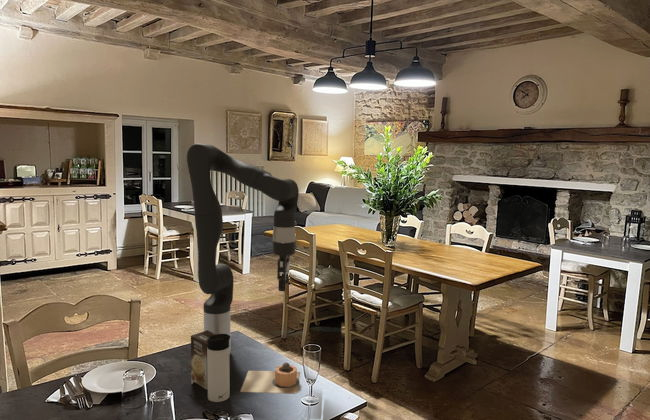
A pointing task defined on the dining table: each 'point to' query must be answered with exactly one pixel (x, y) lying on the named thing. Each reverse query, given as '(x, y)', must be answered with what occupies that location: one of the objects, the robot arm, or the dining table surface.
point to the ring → (285, 376)
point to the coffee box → (199, 358)
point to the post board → (267, 382)
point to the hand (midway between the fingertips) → (283, 287)
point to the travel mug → (218, 367)
